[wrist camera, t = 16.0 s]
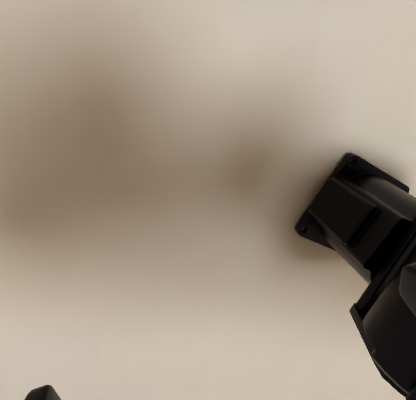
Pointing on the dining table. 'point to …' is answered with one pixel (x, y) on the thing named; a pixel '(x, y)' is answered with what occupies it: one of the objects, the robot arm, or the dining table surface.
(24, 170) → the dining table surface
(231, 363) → the dining table surface
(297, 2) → the dining table surface
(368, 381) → the dining table surface
